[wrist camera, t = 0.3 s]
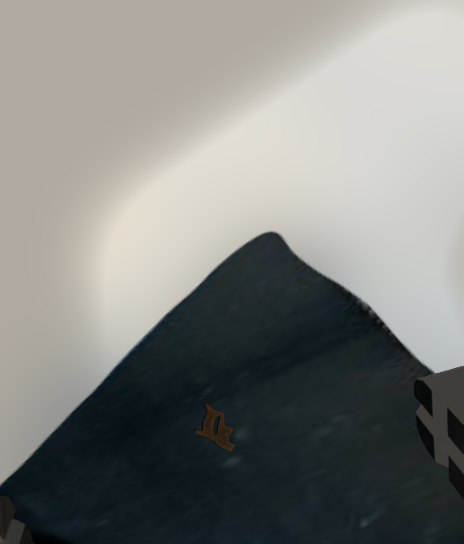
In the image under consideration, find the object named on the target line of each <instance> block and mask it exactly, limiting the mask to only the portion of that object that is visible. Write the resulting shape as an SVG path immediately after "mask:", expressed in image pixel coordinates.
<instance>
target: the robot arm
mask: <svg viewBox="0 0 464 544" xmlns="http://www.w3.org/2000/svg"><path fill="white" fill-rule="evenodd" d="M414 396H415V397H416V398H417V399H418V401H419V402H420V403H421V405H420V407H419V409H418V410H417V412H416V421H417V428H418V431H419V433H420V436H421V439H422V441H423V443H424V445H425V447H426V449H427V451H428V452H429V453H430V455H431V456H432V458H433V459H434V460H435V461H436V462H438V463H440V464H442V465H444V466H446V467H448V468H449V481H450V482H451V483H452V485H453V486H454V487H455V489H456V490H457V491H458V493H459V494H460V495H461V497H462V498H463V499H464V366H460V367H457V368H454V369H450V370H447V371H443V372H440V373H436V374H433V375H429V376H426V377H423V378H419V379H416V381H415V384H414ZM15 509H16V508H15V507H14V505H13V504H12V502H11V501H10V500H9V498H8V497H0V544H33V540H32V536H31V533H30V531H29V530H28V528H27V526H26V524H23V523H21V522H19V521H17V520H14V519H13V516H14V513H15Z"/></svg>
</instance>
